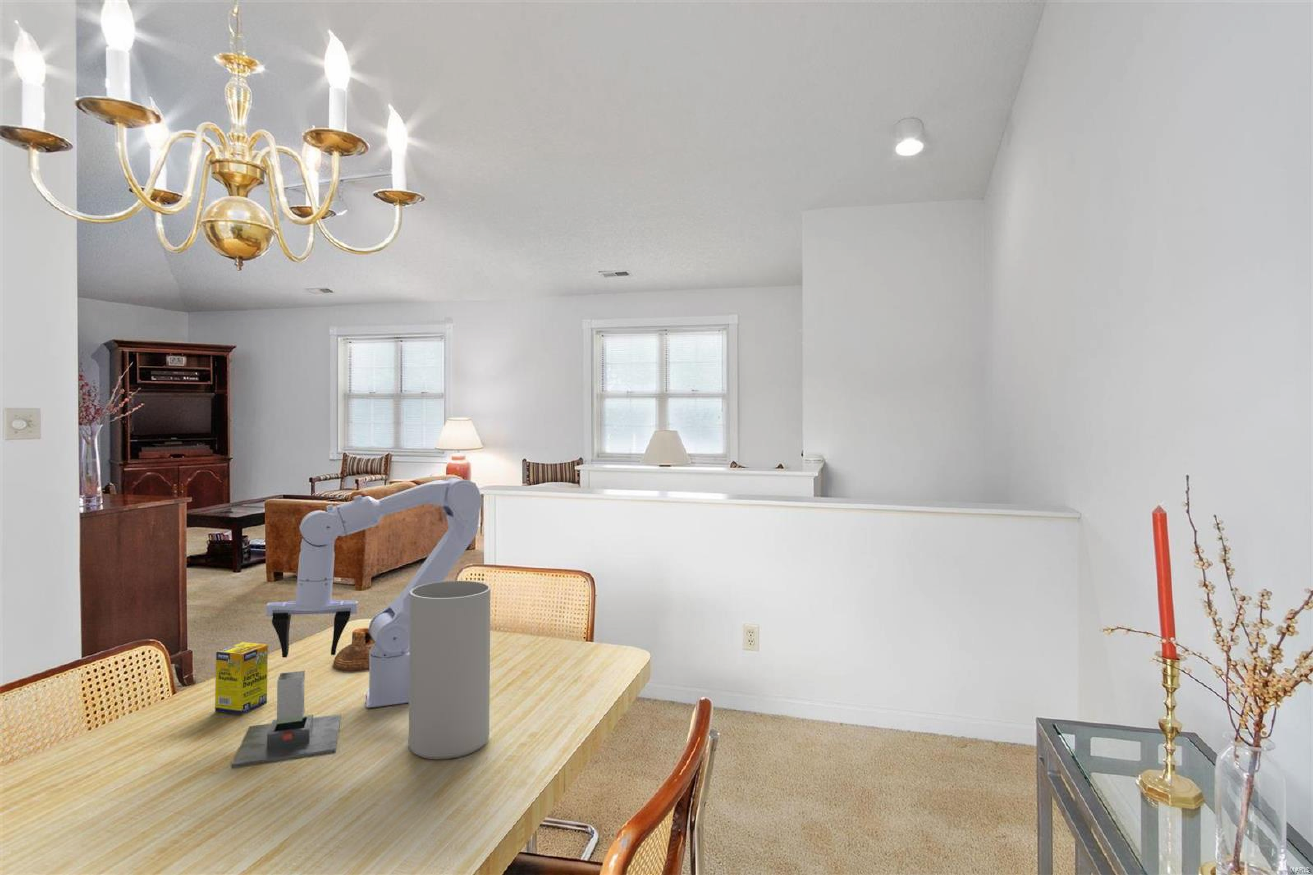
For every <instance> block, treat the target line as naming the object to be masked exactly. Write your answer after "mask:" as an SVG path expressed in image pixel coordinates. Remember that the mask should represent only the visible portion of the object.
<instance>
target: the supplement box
mask: <svg viewBox="0 0 1313 875" xmlns="http://www.w3.org/2000/svg"><path fill="white" fill-rule="evenodd" d="M268 647H269V646H268V644H265V643H256V642H255V643H254V642H248V641H247V642H246V641H242V642H240V643H237V644H234V645H232V646H228V647H226V648H223V649H218V650H216V651H215V688H214V689H215V690H214V691H215V692H214V696H215V698H214V701H215V702H214V712H216V713H217V712H218V713H223V714H224V713H225V714H233V715H240V716H241V715H244V714H245V713H247V712H249V711H252V710H254V709H256V708H258V707H261V705H264V704H266V703H268V658H269V657H268V652H269V651H268Z"/></svg>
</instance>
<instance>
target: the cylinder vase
mask: <svg viewBox="0 0 1313 875" xmlns="http://www.w3.org/2000/svg"><path fill="white" fill-rule="evenodd" d="M491 590H492V589H491V586H490V585H489V584H488V583H484V582H481V581H473V580H449V581H448V580H446V581H445V580H444V581H443V582H436V583H429V584H425V585H421V586H418V587H415V588H413V589H411V590H410V629H409V703H408V748H409V750H410V751H411V752H412V753H413V754H414V755H416V756H418V757H421V758H423V759H424V758H425V759H429V760H450V759H451V760H452V759H456V758H460V757H465V756H466V755H469V754H472V753H474V752H476V751H478V750H479V749H481V748H482V747H483V746H484V745H485V744H486V743H487V741H488V740H489V737H490V704H491V703H490V700H491V699H490V698H491V697H490V694H491V693H490V692H491V690H490V688H491V687H490V684H491V683H490V682H491V677H490V676H491V672H490V671H491Z"/></svg>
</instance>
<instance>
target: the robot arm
mask: <svg viewBox="0 0 1313 875" xmlns="http://www.w3.org/2000/svg"><path fill="white" fill-rule="evenodd" d="M479 489H480V488H478V486H477V484H476V483H475V482H473V481H471V480H469V479H461V478H459V477H454V476H451V477H448V478H445V479H438V480H433V481H428V482H425V483H422V484H419V485H416V486H414V487H410V488H408V489H406V490H402V491H399V492H396V493H393V494H390V495H388V496H385V497H383V498H380V499H376V498H374V497H372V496H369V495H367V496H363V495H361V494H359V495H355V496H353V500H350V501H348V502H344V503H340V504H337V505H334V506H333V504H329V505H326V507H325V508H326V510H319V509H318V510H313V511H310V512H309V513H307V514H306V515H305V516H304V517H303V518H302V520H301V522H300V524H299V528H298V529H299V532H300V534H301V536H302V539H301V543H300V552H299V553H298V554H299V555H298V568H297V582H296V593H295V594H296V595H295V600H289V601H281V602H280V601H277V602H268V603H267V604H266V606H265V608H266V609H265V617H272V619H271V625H272V627H273V628H274V630H275V633H276V635H277V637H278V641H279V643H280V649H281V657H282V658H287V657H288V656H289V650H290V639H289V638H290V629H291V628H290V627H291V617H292V615H295V616H296V615H319V614H320V615H324V614H325V615H326V614H327V615H330V614H335V615H334V617H333V632H332V633H333V635H332V642H331V648H330V656H335V655H336V652H337V648H338V645H339V644H338V643H339V641H340V638H341V636H342V633H343V632H344V630H345V628H346V626H347V624H348V622H349V621H350V618H351V615H356V614H358V604H359V601H358V600H341V599H340V600H337V599H332V598H333V596H332V595H333V584H334V581H333V580H334V568H335V557H336V556H335V555H336V553H335V541H336V540H337V538H338V537H339V536H341V537H345V536H349V535H352V534H355V533H357V532H361V531H364V530H367V529H369V528H371V527H376V526H378V525H379V524H380V521H381V520H382V518H383V517H384V516H387V515H391V514H394V513H398V512H402V511H404V510H408V509H412V508H415V507H418V506H423V505H432V506H440V507H441V508H442V509H443V511H444V513H445V517H446V521H447V527H448V529H447V530H446V532H445V533H444V534H443V536H442V537H441V539H440V540H439V541H438V543H437V544H436V546H435V547H434V548H433V550H432V551H431V552H430V553H429V555H428V557H427V558H426V559H425V560H424V561H423V563H422V564H421V566H420V567H419V568H418V570H417V571H416V573H415V574H414V575H413V577H412V578H411V579H410V581H409V582H408V584H407V585H406V586H405V588H404V589H403V591H402V592H401V593H400V594H399V596H398V597H396V598H394V599H392V601H391V602H389V604H388V605H387V606H386V608H384V609H383V610H382V611H379V612H378V613H377V614H375V615H374V616H373V618H371V620H370V622H369V626H368V628H369V633H370V636H371V637H372V638H373V640H374V641H375V642H374V644H373V646H372V647H371V649H370V651H369V653H370V654H369V669H368V670H369V671H368V672H369V673H368V674H369V675H368V676H369V679H368V690H367V691H366V703H365V704H366V705H365V707H366V708H368V709H370V708H376V707H377V708H378V707H384V706H393V705H400V704H409V629H410V590H411V589H413V588H415V587H418V586H421V585H425V584H429V583H436V582H445V579H446V578H447V576H448V575H449V573H450V572H451V571H452V569H453V568H454V566H455V565H456V564H457V563H458V561H459V559H460V558H461V557H462V555H463V554H464V553H465V551H466V550H467V549H468V547H469V545H471V543H472V541H473V540H474V539H475V538H476V536H477V533H478V527H479V520H480V512H481V507H482V505H483V500H482V499H483V498H482V497H481V492H480V490H479Z"/></svg>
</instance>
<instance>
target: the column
mask: <svg viewBox="0 0 1313 875" xmlns="http://www.w3.org/2000/svg"><path fill="white" fill-rule="evenodd" d="M305 671H306V670H299V671H290V672H289V671H288V672H283V673H282V672H281V673H280V674H279V676H278V677H277V682H276V683H277V684H276V688H277V689H276V690H277V692H276V708H277V709H276V719H277V724H281V723H288V722H296V721H302V719H303V716H305V711H306V710H305V681H306V680H305V678H306V676H305Z"/></svg>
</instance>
